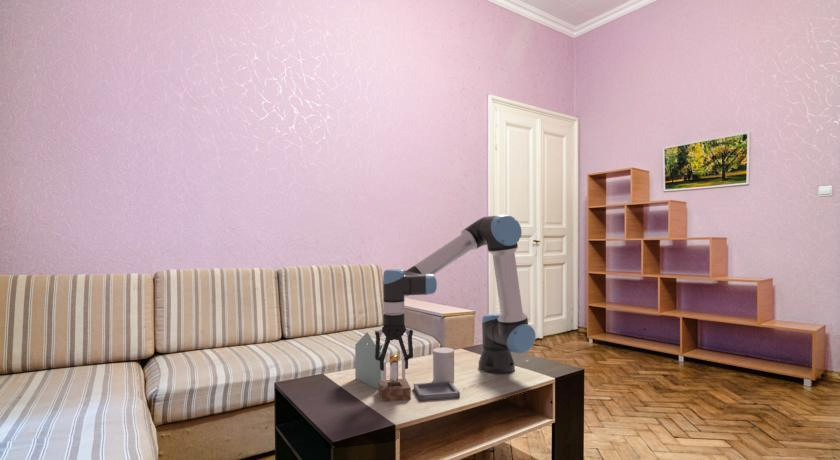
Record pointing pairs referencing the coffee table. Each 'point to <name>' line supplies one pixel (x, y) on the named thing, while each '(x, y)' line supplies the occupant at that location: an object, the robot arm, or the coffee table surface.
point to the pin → (393, 370)
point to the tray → (436, 391)
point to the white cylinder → (443, 365)
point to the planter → (367, 362)
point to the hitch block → (394, 390)
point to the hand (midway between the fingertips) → (394, 378)
